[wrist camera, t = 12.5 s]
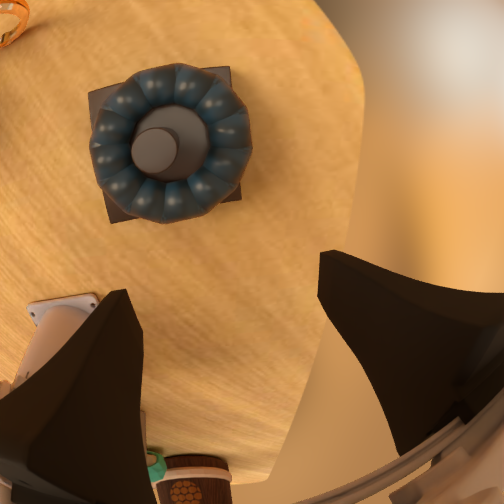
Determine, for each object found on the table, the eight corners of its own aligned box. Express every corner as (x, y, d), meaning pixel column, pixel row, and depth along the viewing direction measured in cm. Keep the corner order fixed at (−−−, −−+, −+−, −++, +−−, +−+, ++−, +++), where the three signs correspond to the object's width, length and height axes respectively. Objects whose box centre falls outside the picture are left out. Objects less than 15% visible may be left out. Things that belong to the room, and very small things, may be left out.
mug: (215, 447, 35) (235, 526, 22) (236, 468, 43) (253, 527, 30) (113, 458, 33) (117, 528, 20) (150, 479, 40) (158, 535, 27)
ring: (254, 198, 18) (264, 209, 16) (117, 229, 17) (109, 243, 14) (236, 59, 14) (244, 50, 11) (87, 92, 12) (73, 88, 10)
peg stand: (238, 195, 19) (265, 231, 13) (114, 218, 17) (86, 264, 11) (227, 69, 15) (251, 40, 9) (93, 94, 13) (49, 82, 7)
